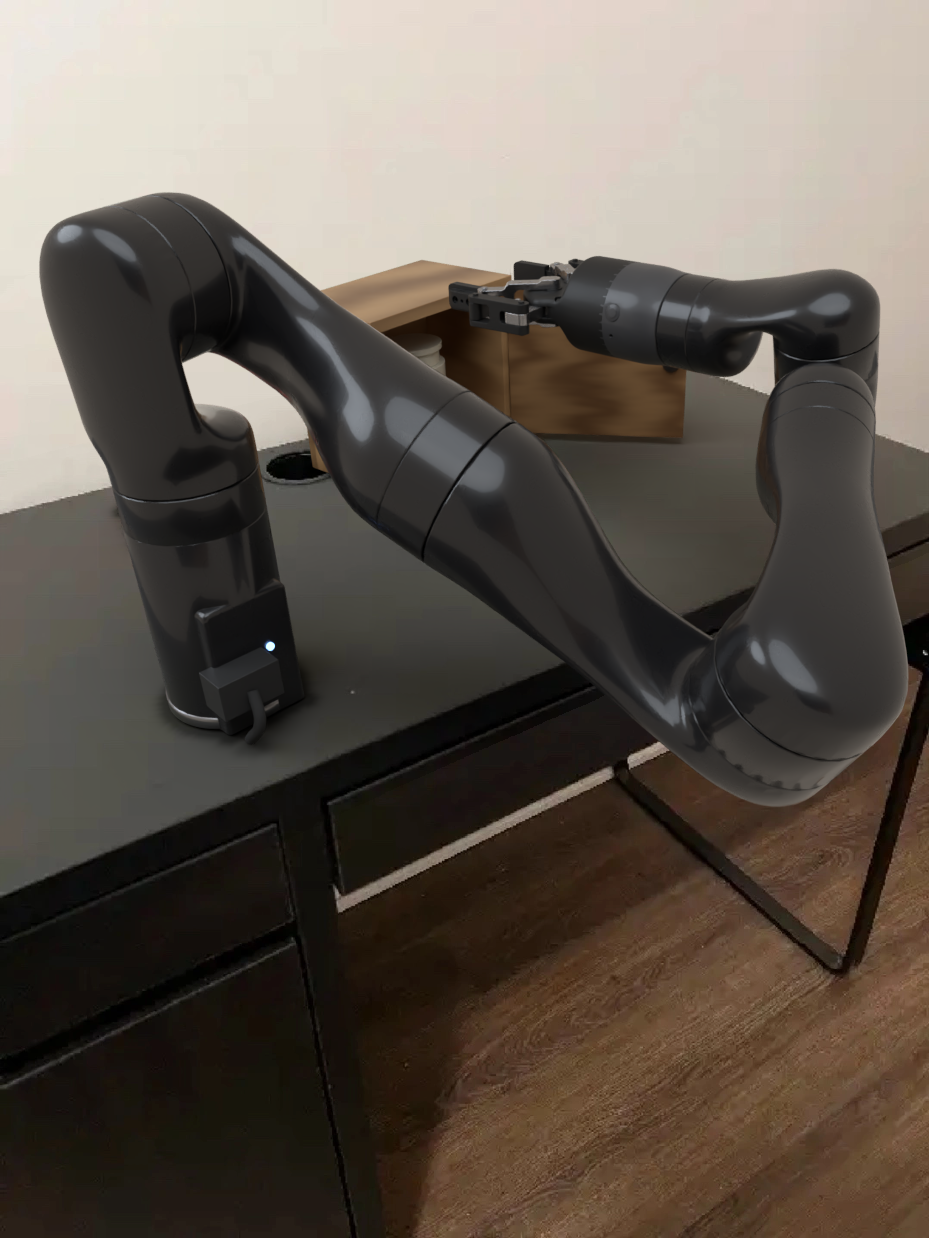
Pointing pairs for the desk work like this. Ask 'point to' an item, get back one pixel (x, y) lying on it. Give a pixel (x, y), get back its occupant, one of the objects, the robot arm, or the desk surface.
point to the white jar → (423, 348)
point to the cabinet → (518, 359)
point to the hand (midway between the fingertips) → (484, 283)
